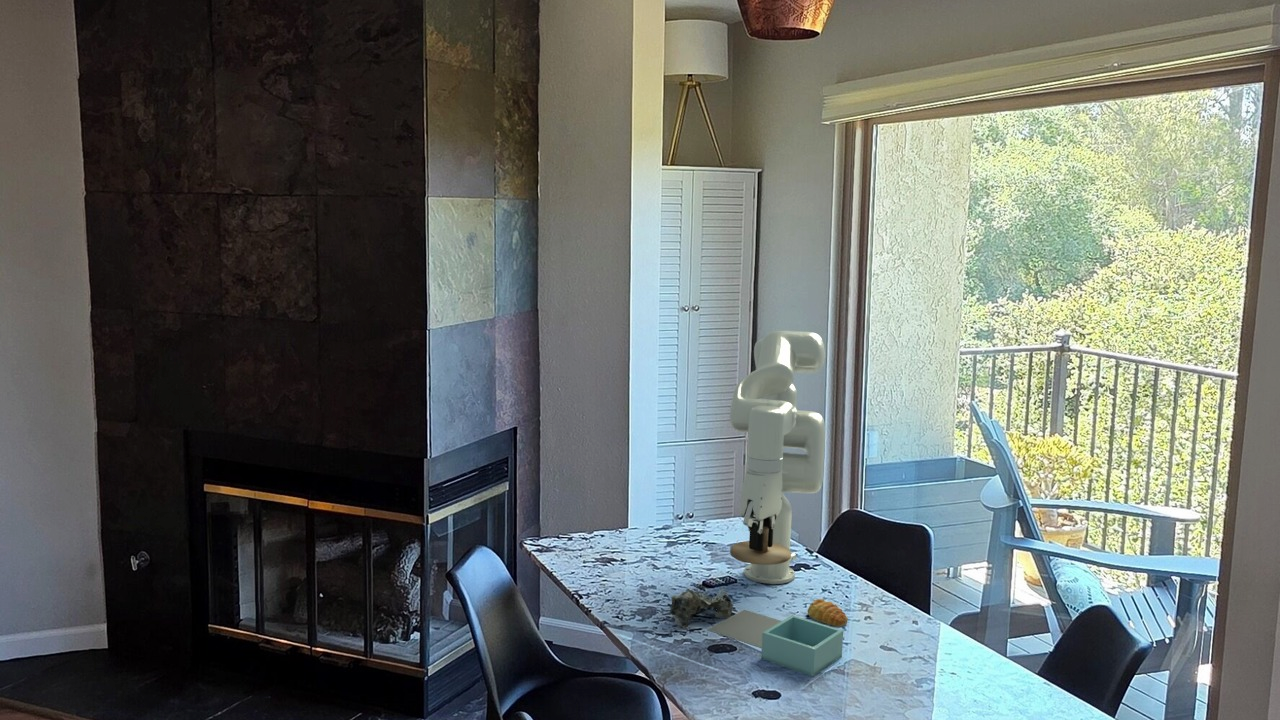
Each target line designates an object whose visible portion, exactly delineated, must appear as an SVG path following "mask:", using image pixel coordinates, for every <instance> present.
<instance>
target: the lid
mask: <svg viewBox="0 0 1280 720" xmlns="http://www.w3.org/2000/svg"><path fill="white" fill-rule="evenodd" d="M768 532H769V528H768V527H765V526H763V528H762V533H764V541H763V551H761V552H760V551H756V550H752V549H750V548H749V540H746V541H740V542H736V543H734V544H733V545H731V546H730V548H729V553H730V556H731V557H732V558H734V559H735V560H738V561H740V562H743V563H747V564H750V565H751V564H759V565H773V564H780V563H784V562H786V561H788V560H789V559H790V558H791V553H792V551H791V549H790V550H789V549H788V548H787V547H785V546H783V545H780V544H777V543H773V544H772V547H768Z"/></svg>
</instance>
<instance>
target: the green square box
mask: <svg viewBox="0 0 1280 720" xmlns="http://www.w3.org/2000/svg"><path fill="white" fill-rule="evenodd" d="M780 621H781V622H780V623H778V624H776V625H774V626H773V627H771V628H769V629H768V630H766V631H764V632H763V633H762V648H761V654H760V656H761V657H760V660H764V661H766V662H769V663H772V664H775V665H778V666H781V667H783V668H787V669H789V670H793V671H796V672H798V673H801V674H805V675H807V676H810V677H815V676H817V675H818V674H820V673H821V672H823V671H824V670H825V669H826V668H828V667H829V666H831V665H832V664H833V663H835V662H837V661H838V660H840V659H841V658H842V657H843V644H844V643H843V642H844V630H843V629H840V628H836V627H834V626H831V625H828V624H824V623H821V622H818V621H813V620H811V619H810V620H809V619H806V618H803V617H800V616H798V615H793V614H791V615H790V616H787V617H786V618H785V619H783V620H780Z"/></svg>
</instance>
